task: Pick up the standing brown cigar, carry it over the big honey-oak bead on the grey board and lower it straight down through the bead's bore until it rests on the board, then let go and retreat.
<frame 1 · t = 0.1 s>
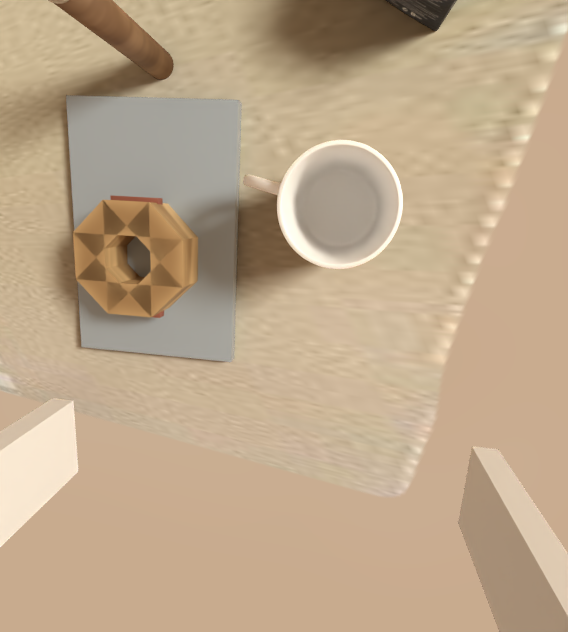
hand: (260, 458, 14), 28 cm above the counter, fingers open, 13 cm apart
bead: (147, 255, 41), resting on board
mug: (323, 202, 39), on the counter
brown cigar: (160, 64, 38), on the counter
board: (157, 234, 41), on the counter
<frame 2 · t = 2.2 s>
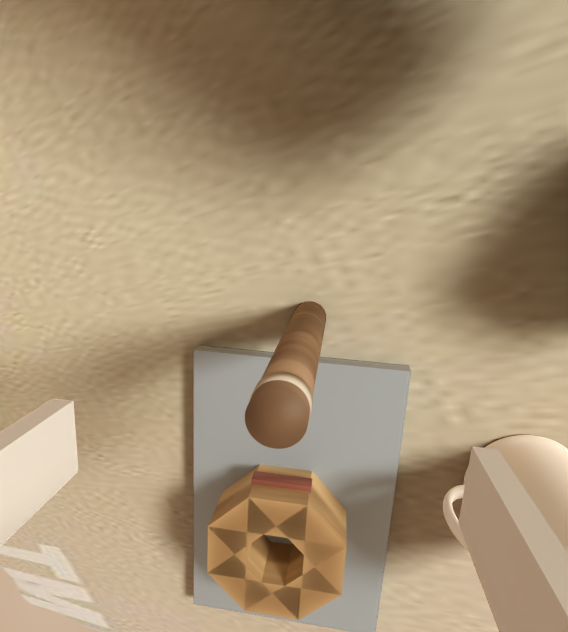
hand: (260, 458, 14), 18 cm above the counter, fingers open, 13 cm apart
bead: (282, 521, 34), resting on board
mug: (500, 474, 32), on the counter
brown cigar: (309, 317, 31), on the counter
board: (291, 491, 35), on the counter
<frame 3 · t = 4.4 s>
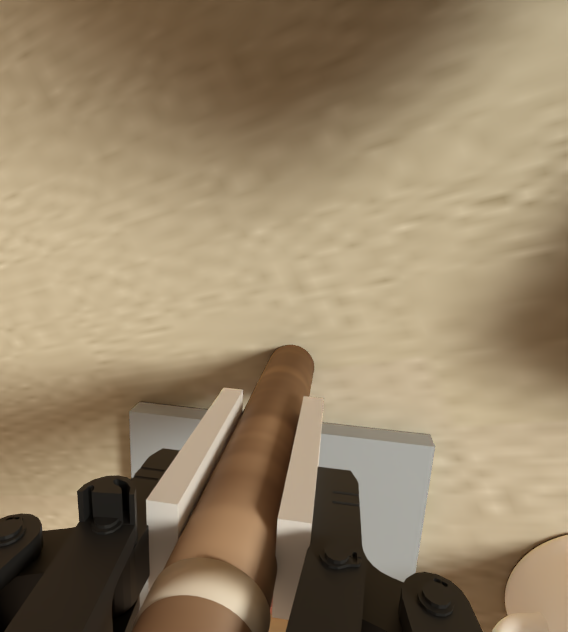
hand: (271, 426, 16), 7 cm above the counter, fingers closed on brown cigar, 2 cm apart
mug: (556, 582, 23), on the counter
brown cigar: (291, 366, 22), on the counter, touching gripper
board: (268, 596, 26), on the counter
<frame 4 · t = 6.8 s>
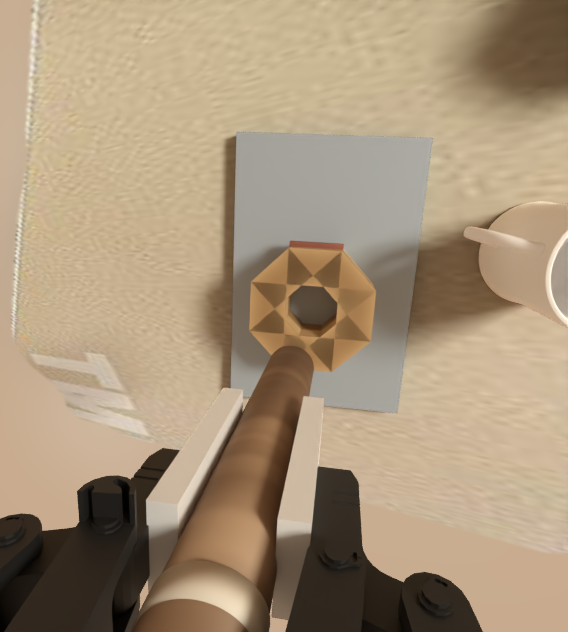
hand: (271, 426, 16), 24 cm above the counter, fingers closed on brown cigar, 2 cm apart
bead: (314, 301, 38), resting on board
mug: (512, 246, 36), on the counter
brown cigar: (291, 367, 22), point 18 cm above the counter, touching gripper
board: (321, 278, 39), on the counter
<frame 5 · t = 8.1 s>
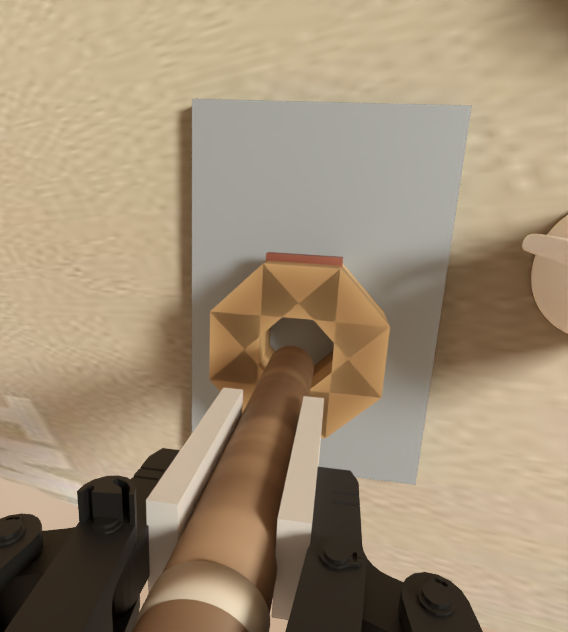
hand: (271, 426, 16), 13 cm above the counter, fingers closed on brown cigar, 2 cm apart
bead: (302, 334, 28), resting on board
brown cigar: (291, 367, 22), point 7 cm above the counter, touching gripper
board: (313, 302, 28), on the counter
when the fingers open (8 cm above the counter, at t = 9.3 s): brown cigar stays where it is, resting on board.
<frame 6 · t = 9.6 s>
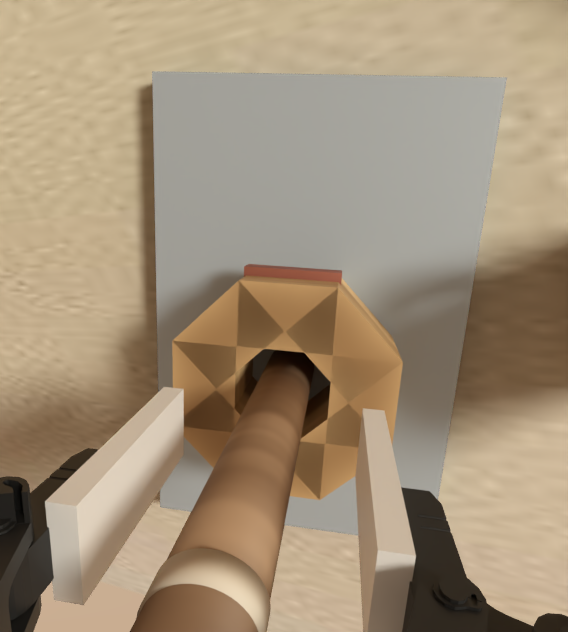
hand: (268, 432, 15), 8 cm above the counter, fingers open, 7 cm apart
bead: (291, 364, 22), resting on board
brown cigar: (291, 365, 22), point 1 cm above the counter, touching board
board: (305, 323, 23), on the counter
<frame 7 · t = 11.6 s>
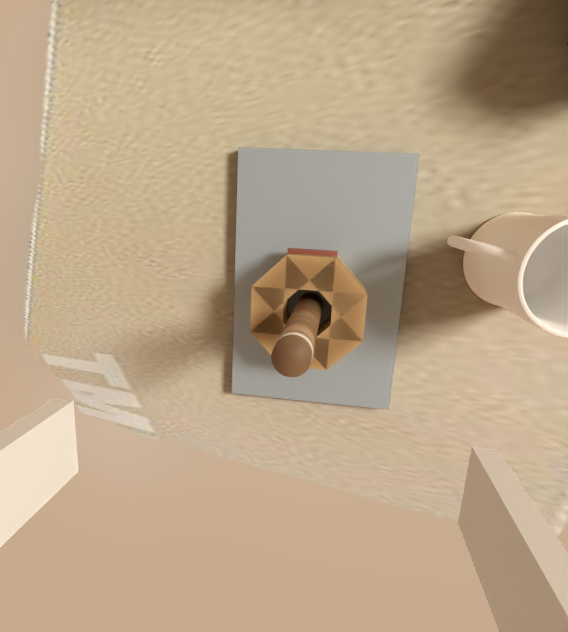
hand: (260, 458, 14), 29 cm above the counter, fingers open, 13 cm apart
bead: (310, 304, 41), resting on board
mug: (494, 253, 39), on the counter
brown cigar: (310, 305, 41), point 1 cm above the counter, touching board
board: (317, 282, 41), on the counter
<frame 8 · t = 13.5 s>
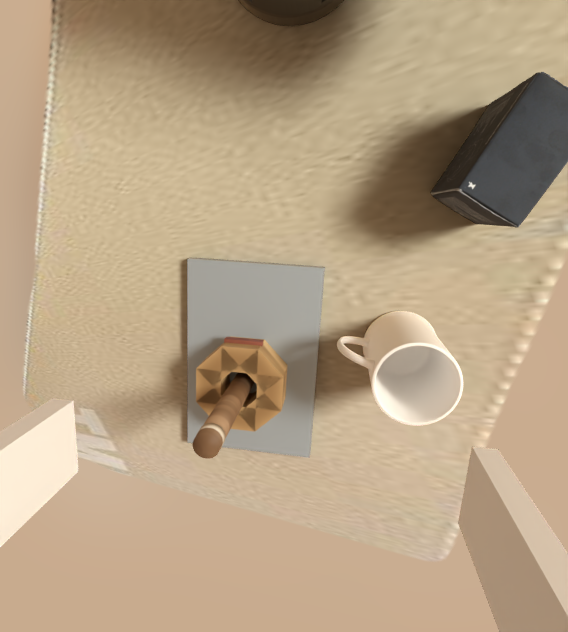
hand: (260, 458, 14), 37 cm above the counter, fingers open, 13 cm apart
bead: (246, 376, 52), resting on board
mug: (386, 339, 50), on the counter
box: (484, 166, 44), on the counter
brown cigar: (246, 377, 52), point 1 cm above the counter, touching board
board: (252, 358, 52), on the counter
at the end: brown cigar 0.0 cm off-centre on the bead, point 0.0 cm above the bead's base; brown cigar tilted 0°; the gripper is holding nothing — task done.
